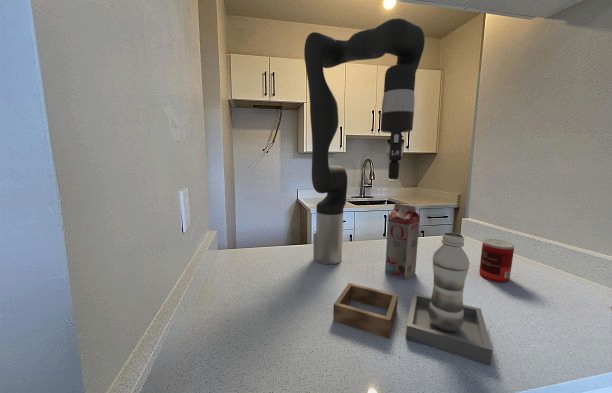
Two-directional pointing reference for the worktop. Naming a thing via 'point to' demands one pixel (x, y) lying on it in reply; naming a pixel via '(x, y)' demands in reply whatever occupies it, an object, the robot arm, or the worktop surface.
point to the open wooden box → (365, 318)
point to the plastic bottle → (449, 283)
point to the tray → (463, 342)
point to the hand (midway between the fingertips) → (392, 177)
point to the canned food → (496, 260)
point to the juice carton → (402, 241)
